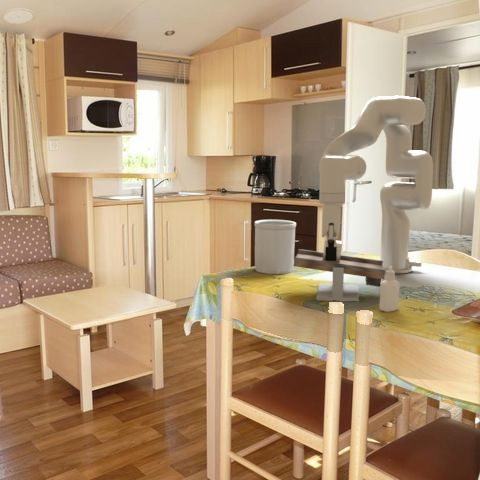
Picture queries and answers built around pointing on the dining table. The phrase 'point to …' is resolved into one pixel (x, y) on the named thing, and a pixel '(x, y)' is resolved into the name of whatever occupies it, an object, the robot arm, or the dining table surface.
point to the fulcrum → (337, 289)
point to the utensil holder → (274, 246)
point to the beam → (343, 265)
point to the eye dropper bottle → (389, 292)
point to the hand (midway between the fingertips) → (331, 258)
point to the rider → (339, 246)
